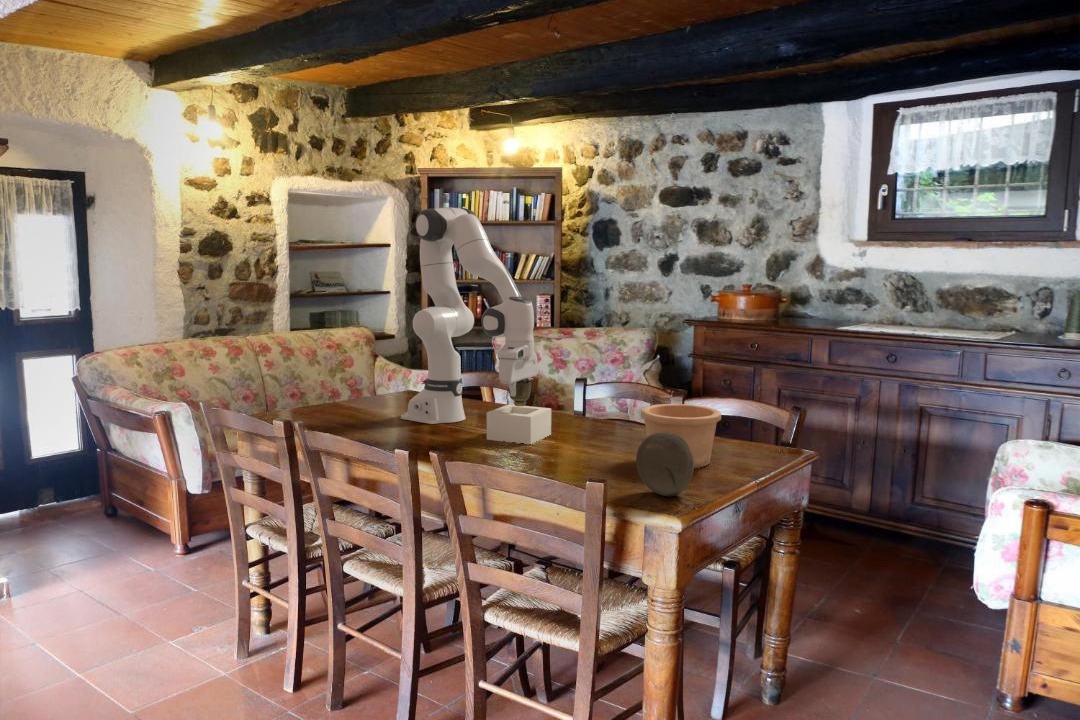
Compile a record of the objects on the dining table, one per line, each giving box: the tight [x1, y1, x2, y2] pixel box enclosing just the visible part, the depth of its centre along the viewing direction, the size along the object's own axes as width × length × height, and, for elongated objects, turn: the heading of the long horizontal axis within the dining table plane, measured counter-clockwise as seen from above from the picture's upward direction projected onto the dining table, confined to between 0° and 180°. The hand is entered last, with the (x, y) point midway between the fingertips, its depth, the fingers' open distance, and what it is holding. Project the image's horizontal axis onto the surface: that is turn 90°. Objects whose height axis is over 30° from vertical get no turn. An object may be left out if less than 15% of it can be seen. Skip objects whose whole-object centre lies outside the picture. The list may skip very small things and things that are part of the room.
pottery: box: [640, 403, 722, 469], centre depth 228 cm, size 22×22×14 cm
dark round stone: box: [635, 433, 695, 497], centre depth 197 cm, size 14×14×15 cm
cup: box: [507, 379, 533, 406], centre depth 255 cm, size 8×7×8 cm
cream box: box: [486, 404, 552, 445], centre depth 257 cm, size 15×15×8 cm
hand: (519, 394), depth 255 cm, fingers closed on cup, 6 cm apart
